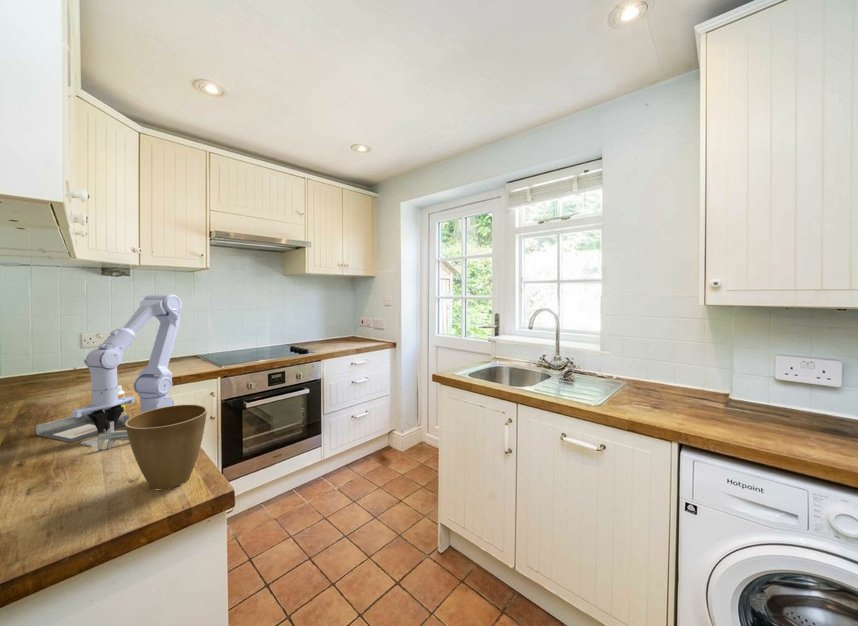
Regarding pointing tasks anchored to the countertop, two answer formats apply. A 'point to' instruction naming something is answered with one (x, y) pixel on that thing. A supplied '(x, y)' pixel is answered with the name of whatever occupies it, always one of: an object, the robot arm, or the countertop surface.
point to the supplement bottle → (121, 396)
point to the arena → (73, 428)
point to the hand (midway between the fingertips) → (106, 432)
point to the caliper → (111, 438)
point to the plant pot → (167, 443)
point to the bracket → (94, 441)
